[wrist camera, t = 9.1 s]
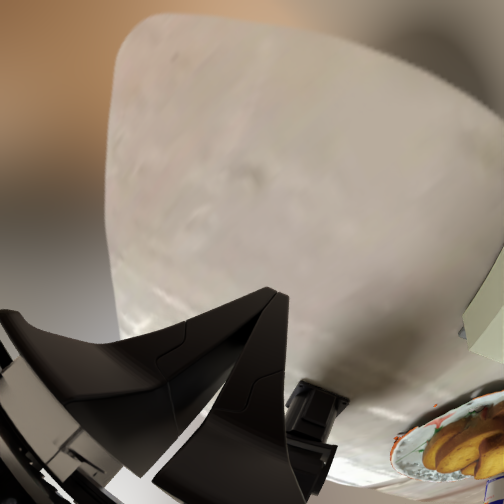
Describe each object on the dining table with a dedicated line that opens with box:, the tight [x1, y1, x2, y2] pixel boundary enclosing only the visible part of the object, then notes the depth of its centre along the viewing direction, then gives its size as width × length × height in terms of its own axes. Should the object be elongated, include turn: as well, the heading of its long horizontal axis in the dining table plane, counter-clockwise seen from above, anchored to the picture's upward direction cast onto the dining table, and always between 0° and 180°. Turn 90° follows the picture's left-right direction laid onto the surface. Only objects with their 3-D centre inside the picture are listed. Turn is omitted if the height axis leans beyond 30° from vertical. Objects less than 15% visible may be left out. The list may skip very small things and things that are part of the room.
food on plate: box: [390, 390, 504, 482], centre depth 19 cm, size 25×25×7 cm
